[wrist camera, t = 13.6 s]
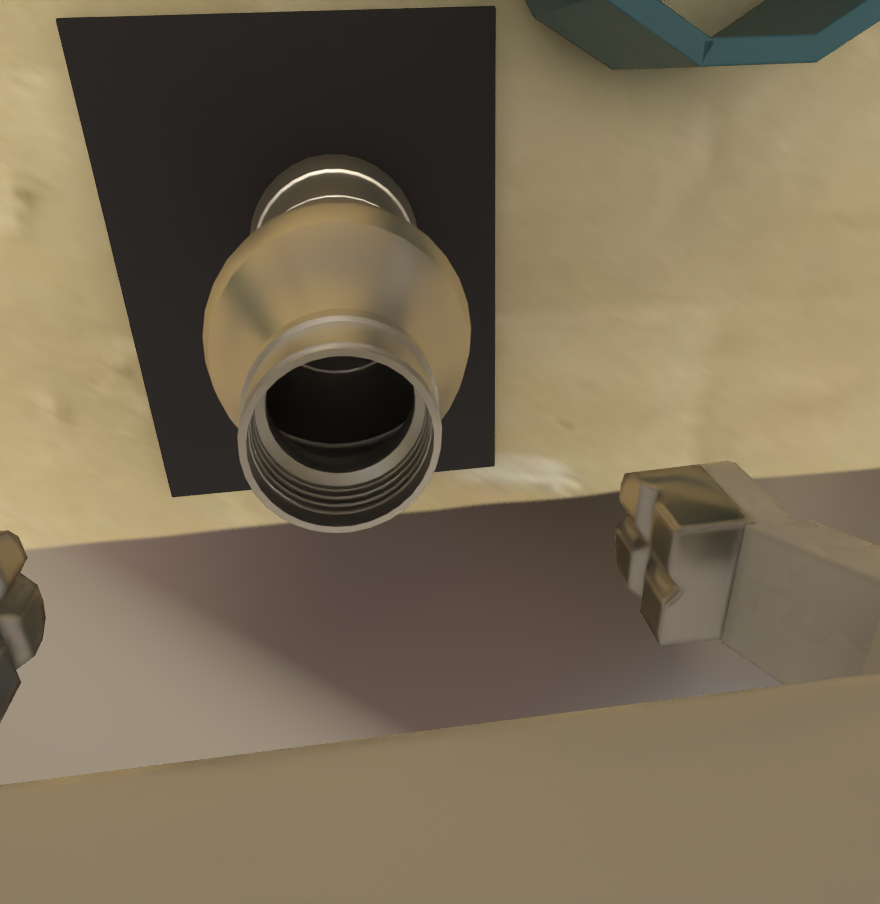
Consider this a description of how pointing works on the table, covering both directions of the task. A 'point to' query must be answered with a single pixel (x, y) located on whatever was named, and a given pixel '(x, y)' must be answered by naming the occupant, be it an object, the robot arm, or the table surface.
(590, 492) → the table surface
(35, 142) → the table surface
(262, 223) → the plastic bottle
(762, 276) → the table surface
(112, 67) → the mat
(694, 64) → the bucket
